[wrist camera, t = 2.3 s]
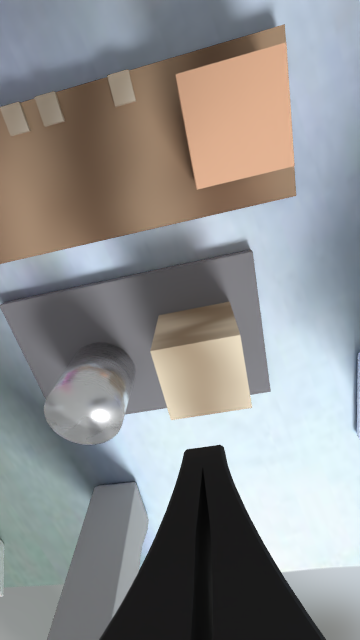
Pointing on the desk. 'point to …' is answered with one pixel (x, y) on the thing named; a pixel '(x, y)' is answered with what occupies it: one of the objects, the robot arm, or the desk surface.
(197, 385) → the birch cube
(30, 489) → the desk surface
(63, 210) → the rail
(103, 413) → the grey cylinder
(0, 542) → the figurine
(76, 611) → the vintage mobile phone
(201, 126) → the block
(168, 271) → the mat
